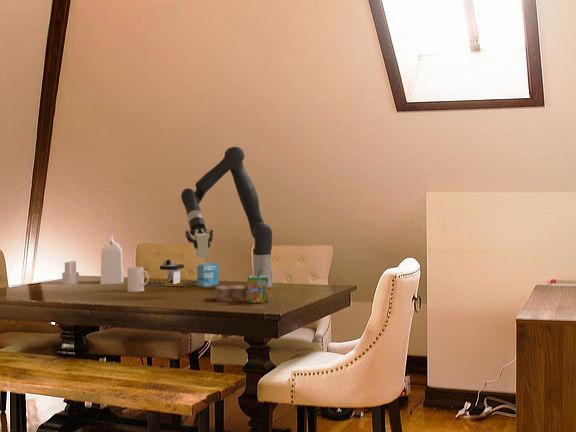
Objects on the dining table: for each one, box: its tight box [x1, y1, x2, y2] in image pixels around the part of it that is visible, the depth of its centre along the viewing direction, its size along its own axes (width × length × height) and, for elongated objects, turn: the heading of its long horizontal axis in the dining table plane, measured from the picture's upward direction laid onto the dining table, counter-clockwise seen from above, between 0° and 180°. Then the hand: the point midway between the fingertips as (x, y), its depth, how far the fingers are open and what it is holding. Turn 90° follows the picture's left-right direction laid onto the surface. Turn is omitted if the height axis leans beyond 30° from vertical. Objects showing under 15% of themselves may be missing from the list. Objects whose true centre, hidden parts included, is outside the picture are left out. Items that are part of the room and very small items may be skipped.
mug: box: [126, 266, 150, 293], centre depth 409 cm, size 12×8×12 cm
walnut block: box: [215, 284, 247, 303], centre depth 372 cm, size 13×13×6 cm
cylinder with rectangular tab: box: [61, 260, 80, 285], centre depth 449 cm, size 9×9×12 cm
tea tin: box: [194, 233, 209, 259], centre depth 386 cm, size 5×5×11 cm
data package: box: [196, 262, 219, 288], centre depth 428 cm, size 12×4×12 cm, turn 142°
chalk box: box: [246, 269, 269, 304], centre depth 363 cm, size 9×9×15 cm
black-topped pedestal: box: [144, 258, 197, 288], centre depth 441 cm, size 28×26×13 cm
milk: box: [100, 235, 125, 285], centre depth 450 cm, size 12×12×26 cm
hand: (202, 247), depth 384 cm, fingers closed on tea tin, 5 cm apart
